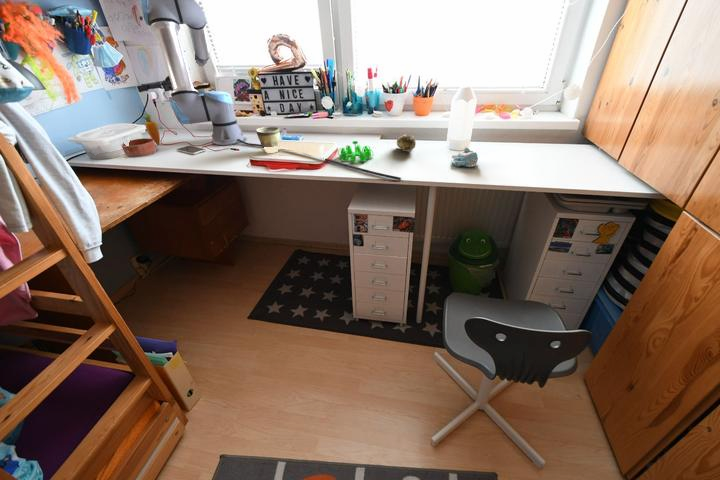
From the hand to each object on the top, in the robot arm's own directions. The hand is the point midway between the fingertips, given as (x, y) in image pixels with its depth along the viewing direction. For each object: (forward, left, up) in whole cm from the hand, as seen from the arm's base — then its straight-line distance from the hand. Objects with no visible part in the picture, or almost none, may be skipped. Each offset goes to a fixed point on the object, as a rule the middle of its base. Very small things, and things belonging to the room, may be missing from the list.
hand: (151, 88), depth 158 cm
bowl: (-11, +19, -24) cm, 33 cm away
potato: (-119, -42, -25) cm, 128 cm away
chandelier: (-105, -24, -25) cm, 110 cm away
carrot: (-5, +8, -25) cm, 27 cm away
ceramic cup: (-65, -14, -25) cm, 71 cm away
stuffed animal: (-146, -39, -25) cm, 153 cm away
